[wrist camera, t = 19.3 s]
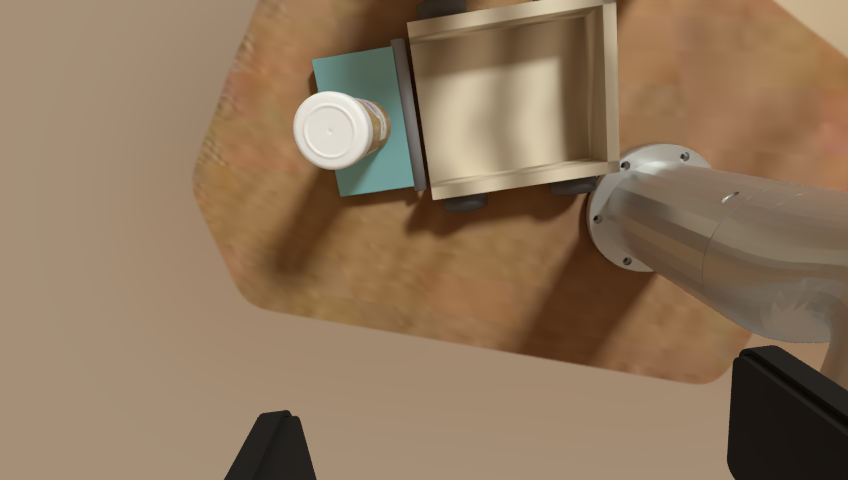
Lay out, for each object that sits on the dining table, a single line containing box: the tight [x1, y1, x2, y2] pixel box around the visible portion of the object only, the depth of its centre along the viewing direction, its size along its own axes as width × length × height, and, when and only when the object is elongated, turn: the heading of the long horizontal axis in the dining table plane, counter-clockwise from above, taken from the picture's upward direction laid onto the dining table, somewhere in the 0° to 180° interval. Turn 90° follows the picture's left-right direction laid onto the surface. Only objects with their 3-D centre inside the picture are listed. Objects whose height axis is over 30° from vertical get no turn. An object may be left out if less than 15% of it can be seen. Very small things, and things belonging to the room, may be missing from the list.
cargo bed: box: [407, 0, 620, 212], centre depth 36 cm, size 16×17×5 cm
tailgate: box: [312, 38, 427, 197], centre depth 38 cm, size 1×13×8 cm
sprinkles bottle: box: [293, 91, 391, 170], centre depth 31 cm, size 5×5×14 cm
